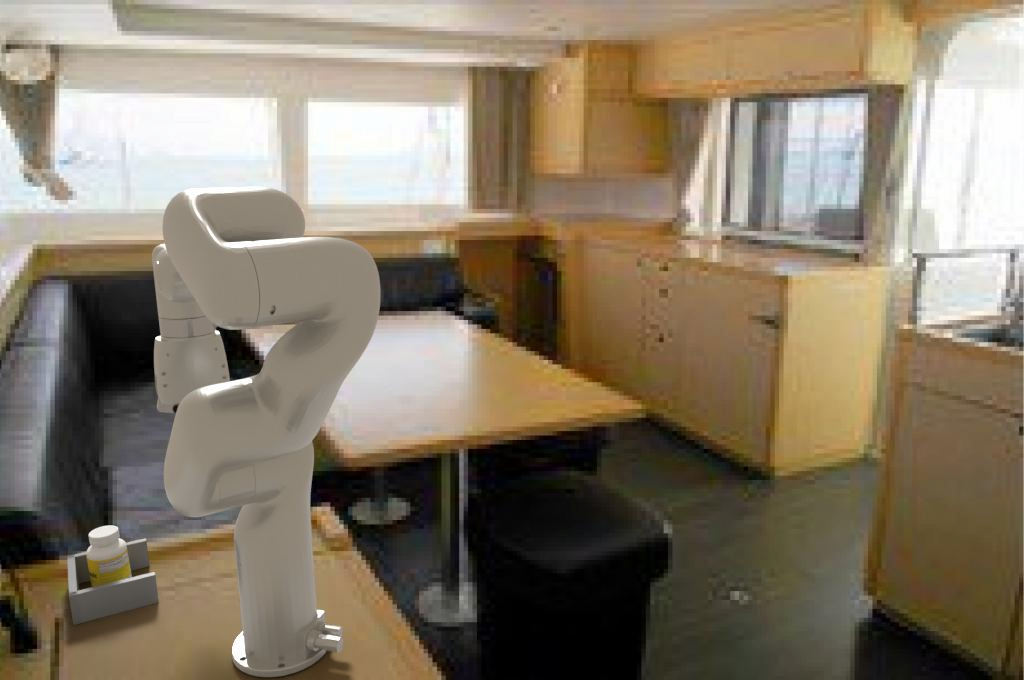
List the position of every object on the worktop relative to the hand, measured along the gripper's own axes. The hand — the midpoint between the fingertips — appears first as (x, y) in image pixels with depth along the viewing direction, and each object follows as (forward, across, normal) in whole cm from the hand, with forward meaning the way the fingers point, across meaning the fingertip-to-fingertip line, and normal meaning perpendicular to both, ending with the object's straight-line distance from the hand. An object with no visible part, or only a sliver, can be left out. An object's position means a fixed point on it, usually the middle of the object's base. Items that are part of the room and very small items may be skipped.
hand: (199, 442), depth 118 cm
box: (+21, +14, 0) cm, 25 cm away
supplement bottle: (+21, +14, -1) cm, 26 cm away
